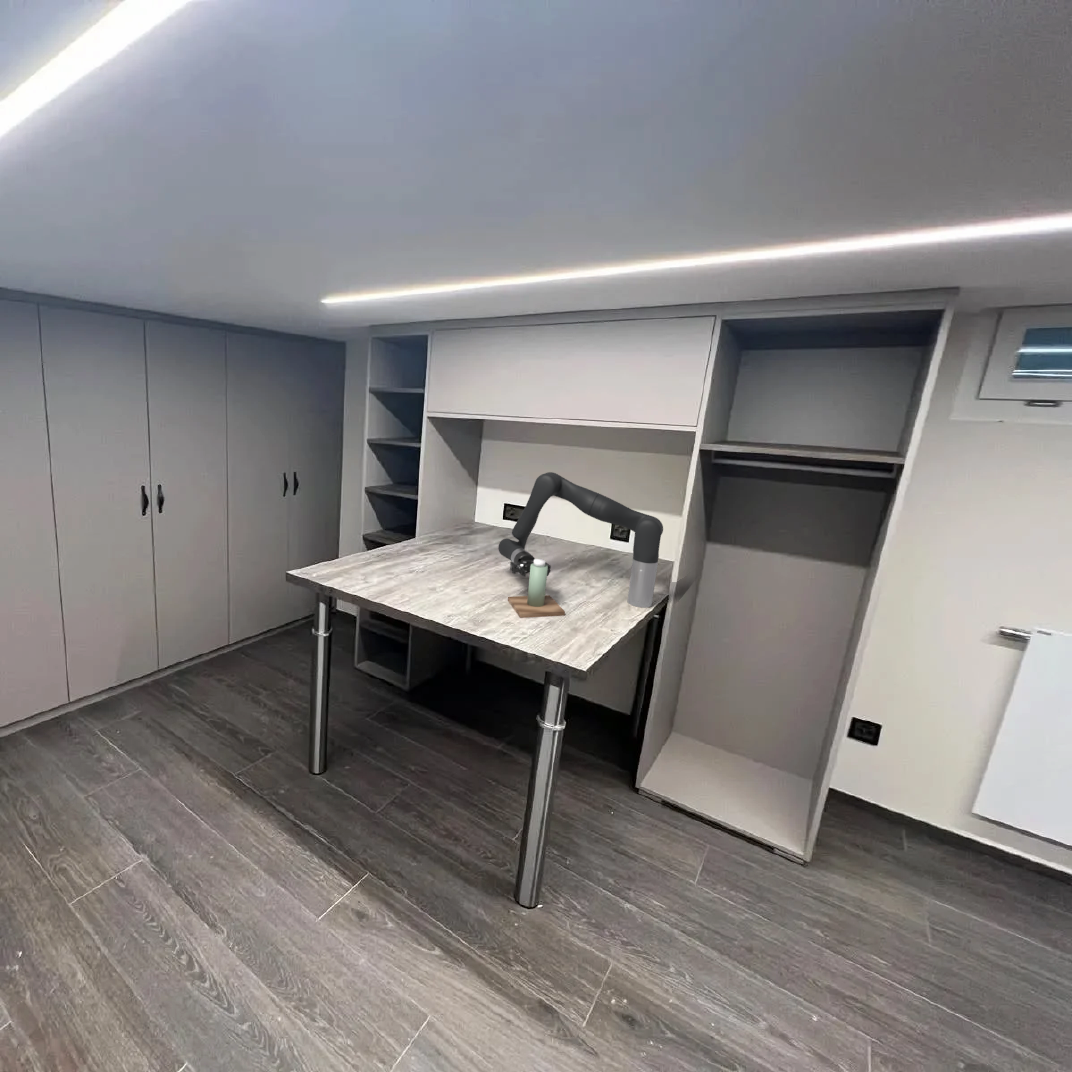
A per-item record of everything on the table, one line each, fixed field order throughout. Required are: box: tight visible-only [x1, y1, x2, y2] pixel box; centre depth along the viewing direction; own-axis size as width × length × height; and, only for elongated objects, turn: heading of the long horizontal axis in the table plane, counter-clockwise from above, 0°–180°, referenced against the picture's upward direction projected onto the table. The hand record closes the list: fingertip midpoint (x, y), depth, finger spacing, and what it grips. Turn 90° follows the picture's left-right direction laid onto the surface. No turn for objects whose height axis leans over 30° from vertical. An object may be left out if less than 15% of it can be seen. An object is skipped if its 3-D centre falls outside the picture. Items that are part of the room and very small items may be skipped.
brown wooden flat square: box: [507, 594, 566, 619], centre depth 177 cm, size 16×16×2 cm
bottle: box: [527, 558, 548, 607], centre depth 175 cm, size 6×6×16 cm
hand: (536, 573), depth 176 cm, fingers open, 8 cm apart
